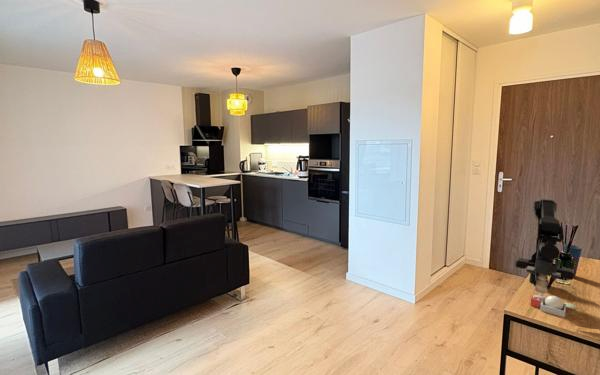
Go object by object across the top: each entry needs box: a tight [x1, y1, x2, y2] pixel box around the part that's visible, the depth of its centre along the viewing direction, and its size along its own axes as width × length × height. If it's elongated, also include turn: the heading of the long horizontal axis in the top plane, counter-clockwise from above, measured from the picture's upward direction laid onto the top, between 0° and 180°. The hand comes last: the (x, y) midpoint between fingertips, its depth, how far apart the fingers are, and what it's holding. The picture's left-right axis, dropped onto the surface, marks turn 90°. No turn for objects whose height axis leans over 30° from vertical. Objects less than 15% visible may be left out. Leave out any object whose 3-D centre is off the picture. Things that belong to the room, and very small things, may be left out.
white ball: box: [544, 295, 564, 310], centre depth 123 cm, size 6×6×6 cm
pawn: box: [534, 274, 550, 294], centre depth 132 cm, size 4×4×8 cm
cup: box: [563, 243, 583, 278], centre depth 157 cm, size 7×7×15 cm
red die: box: [529, 295, 542, 309], centre depth 127 cm, size 3×3×3 cm
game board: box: [533, 294, 578, 318], centre depth 127 cm, size 18×14×4 cm
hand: (541, 287), depth 132 cm, fingers closed on pawn, 4 cm apart
